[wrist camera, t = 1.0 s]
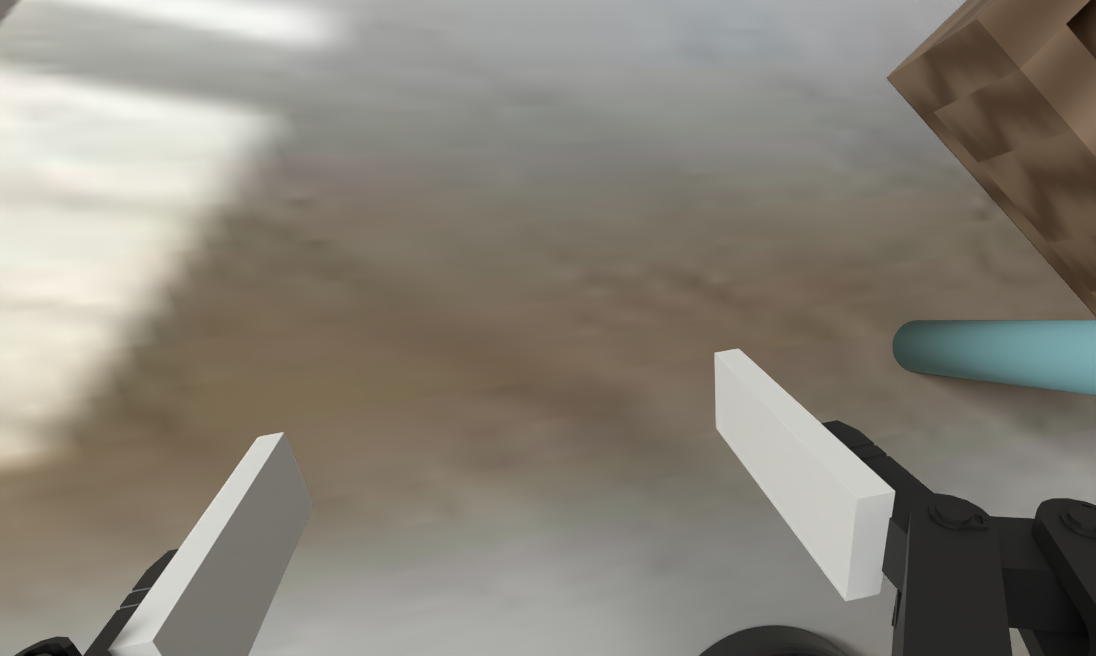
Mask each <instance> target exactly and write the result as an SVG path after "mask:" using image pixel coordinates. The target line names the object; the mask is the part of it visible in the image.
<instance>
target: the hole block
mask: <svg viewBox="0 0 1096 656" xmlns="http://www.w3.org/2000/svg"><path fill="white" fill-rule="evenodd" d="M887 79H888V80H889V81H890V82H891V83H892V84H893V86H894V87H895V88H896V89H897V90H898V91H899V92H900V94H901V95H902V96H903V97H904V98H905V99H906V100H907V101H908V103H909V104H910V105H911V106H912V107H913V108H914V109H915V111H916V112H917V113H918V114H919V115H920V116H921V117H922V119H923V120H924V121H925V122H926V123H927V124H928V125H929V127H930V128H931V129H932V130H933V131H934V132H935V133H936V135H937V136H938V137H939V138H940V139H941V140H942V141H943V143H944V144H945V145H946V146H947V147H948V148H949V149H950V150H951V152H952V153H953V154H954V155H955V156H956V157H957V158H958V160H959V161H960V162H961V163H962V164H963V165H964V166H965V168H966V169H967V170H968V171H969V172H970V173H971V174H972V176H973V177H974V178H975V179H976V180H977V181H978V182H979V184H980V185H981V186H982V187H983V188H984V189H985V190H986V191H987V193H988V194H989V195H990V196H991V197H992V198H993V199H994V201H995V202H996V203H997V204H998V205H999V206H1000V207H1001V209H1002V210H1003V211H1004V212H1005V213H1006V214H1007V215H1008V217H1009V218H1010V219H1011V220H1012V221H1013V222H1014V223H1015V225H1016V226H1017V227H1018V228H1019V229H1020V230H1021V231H1022V233H1023V234H1024V235H1025V236H1026V237H1027V238H1028V239H1029V240H1030V242H1031V243H1032V244H1033V245H1034V246H1035V247H1036V248H1037V250H1038V251H1039V252H1040V253H1041V254H1042V255H1043V256H1044V258H1045V259H1046V260H1047V261H1048V262H1049V263H1050V264H1051V266H1052V267H1053V268H1054V269H1055V270H1056V271H1057V272H1058V274H1059V275H1060V276H1061V277H1062V278H1063V279H1064V280H1065V282H1066V283H1067V284H1068V285H1069V286H1070V287H1071V288H1072V289H1073V291H1074V292H1075V293H1076V294H1077V295H1078V296H1079V297H1080V299H1081V300H1082V301H1083V302H1084V303H1085V304H1086V305H1087V307H1088V308H1089V309H1090V310H1091V311H1092V312H1093V313H1094V315H1095V316H1096V0H967V1H966V2H965V3H964V4H963V5H962V6H961V7H960V8H959V9H958V10H956V11H955V12H954V13H953V14H952V15H951V16H950V17H949V18H948V19H947V20H946V21H945V22H944V23H943V24H942V25H941V26H940V27H939V28H938V29H937V30H936V31H935V32H934V33H933V34H932V35H931V36H930V37H929V38H927V39H926V40H925V41H924V42H923V43H922V44H921V45H920V46H919V47H918V48H917V49H916V50H915V51H914V52H913V53H912V54H911V55H910V56H909V57H908V58H907V59H906V60H905V61H904V62H903V63H902V64H901V65H899V66H898V67H897V68H896V69H895V70H894V71H893V72H892V73H891V74H890V75H889V76H888V77H887Z"/></svg>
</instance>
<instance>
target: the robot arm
mask: <svg viewBox="0 0 1096 656" xmlns="http://www.w3.org/2000/svg"><path fill="white" fill-rule="evenodd" d="M715 397H716V428H717V430H718V431H719V432H720V434H721V435H722V436H723V438H724V439H725V440H726V442H727V443H728V444H729V446H730V447H731V448H732V450H733V451H734V452H735V454H736V455H737V457H738V458H739V459H740V461H741V462H742V463H743V465H744V466H745V467H746V469H747V470H748V471H749V473H750V474H751V475H752V477H753V478H754V479H755V481H756V482H757V483H758V485H759V486H760V487H761V489H762V490H763V491H764V493H765V494H766V495H767V497H768V498H769V499H770V501H771V502H772V503H773V505H774V506H775V507H776V509H777V510H778V511H779V513H780V514H781V515H782V517H783V518H784V519H785V521H786V522H787V524H788V525H789V526H790V528H791V529H792V530H793V532H794V533H795V534H796V536H797V537H798V538H799V540H800V541H801V542H802V544H803V545H804V546H805V548H806V549H807V550H808V552H809V553H810V554H811V556H812V557H813V558H814V560H815V561H816V562H817V564H818V565H819V566H820V568H821V569H822V570H823V572H824V573H825V574H826V576H827V577H828V578H829V580H830V581H831V582H832V584H833V585H834V587H835V588H836V589H837V591H838V592H839V593H840V595H841V596H842V597H843V599H844V600H845V601H850V600H855V599H860V598H864V597H869V596H874V595H879V594H880V592H881V586H882V579H883V573H884V574H885V575H886V576H887V578H888V579H889V580H890V581H891V582H892V583H893V584H894V586H895V587H896V588H897V595H896V601H895V607H894V613H893V619H892V626H894V630H893V643H892V656H1012V649H1011V641H1010V633H1009V628H1018V630H1019V632H1020V635H1021V637H1022V639H1023V641H1024V643H1025V645H1026V647H1027V649H1028V651H1029V654H1030V656H1096V505H1093V504H1091V503H1088V502H1084V501H1079V500H1073V499H1068V498H1057V499H1050V500H1047V501H1044V502H1042V503H1041V504H1040V506H1039V507H1038V509H1037V512H1036V516H1035V519H1031V518H1011V517H994V516H989V515H988V514H987V513H986V512H985V511H984V510H983V509H981V508H980V507H978V506H976V505H974V504H972V503H971V502H969V501H967V500H964V499H961V498H958V497H955V496H952V495H944V494H934V493H933V492H932V491H931V490H929V489H928V488H927V487H926V486H925V485H923V484H922V483H921V482H920V481H919V480H917V479H916V478H915V477H914V476H913V475H911V474H910V473H909V472H908V471H907V470H905V469H904V468H903V467H902V466H901V465H899V464H898V463H897V462H896V461H895V460H894V459H892V458H891V457H890V456H887V455H886V453H885V452H884V451H883V450H882V449H880V448H879V447H878V446H877V445H876V446H875V445H874V443H873V442H872V441H871V440H870V439H868V438H867V437H866V436H865V435H864V434H862V433H861V432H860V431H859V430H857V429H855V428H853V427H851V426H848V425H846V424H844V423H842V422H840V421H838V420H836V421H831V422H826V423H820V422H819V421H818V420H817V419H815V418H814V417H813V416H812V415H811V414H810V413H809V412H808V411H807V410H806V409H804V408H803V407H802V406H801V405H800V404H799V403H798V402H797V401H796V400H795V399H793V398H792V397H791V396H790V395H789V394H788V393H787V392H786V391H785V390H784V389H783V388H781V387H780V386H779V385H778V384H777V383H776V382H775V381H774V380H773V379H772V378H770V377H769V376H768V375H767V374H766V373H765V372H764V371H763V370H762V369H761V368H759V367H758V366H757V365H756V364H755V363H754V362H753V361H752V360H751V359H750V358H748V357H747V356H746V355H745V354H744V353H743V352H742V351H741V350H740V349H733V350H728V351H722V352H717V353H715ZM313 506H314V504H313V502H312V499H311V497H310V494H309V492H308V489H307V487H306V484H305V482H304V479H303V477H302V475H301V472H300V470H299V467H298V465H297V462H296V460H295V457H294V455H293V452H292V450H291V448H290V445H289V443H288V440H287V438H286V435H285V433H284V432H282V433H277V434H271V435H266V436H260V437H258V438H257V439H256V440H255V442H254V443H253V445H252V446H251V447H250V449H249V450H248V452H247V453H246V455H245V456H244V457H243V459H242V460H241V462H240V463H239V465H238V466H237V467H236V469H235V470H234V472H233V473H232V474H231V476H230V477H229V479H228V480H227V482H226V483H225V484H224V486H223V487H222V489H221V490H220V492H219V493H218V494H217V496H216V497H215V499H214V500H213V501H212V503H211V504H210V506H209V507H208V509H207V510H206V511H205V513H204V514H203V516H202V517H201V518H200V520H199V521H198V523H197V524H196V526H195V527H194V528H193V530H192V531H191V533H190V534H189V536H188V537H187V538H186V540H185V541H184V543H183V544H182V545H181V547H180V548H179V549H175V550H170V551H168V552H167V553H166V554H164V555H163V556H162V557H161V558H160V559H159V560H158V561H156V562H155V563H154V564H153V565H152V566H151V567H150V568H149V569H147V571H146V572H145V573H144V575H143V576H142V577H141V579H140V580H139V581H138V583H137V584H136V585H135V587H134V588H133V589H132V590H133V592H132V593H130V594H129V595H128V596H127V597H126V599H125V600H124V602H123V603H122V604H121V606H120V610H117V611H116V612H115V614H114V615H113V616H112V618H111V619H110V620H109V622H108V623H107V624H106V626H105V627H104V628H103V630H102V631H101V633H100V634H99V635H98V637H97V638H96V639H95V641H94V642H93V643H92V645H91V646H90V647H89V649H88V650H87V651H86V653H85V654H84V655H83V656H248V654H249V652H250V650H251V648H252V645H253V643H254V641H255V638H256V636H257V634H258V632H259V629H260V627H261V625H262V622H263V620H264V618H265V616H266V613H267V611H268V609H269V606H270V604H271V602H272V599H273V597H274V595H275V593H276V590H277V588H278V586H279V583H280V581H281V579H282V577H283V574H284V572H285V570H286V567H287V565H288V563H289V561H290V558H291V556H292V554H293V551H294V549H295V547H296V545H297V542H298V540H299V538H300V535H301V533H302V531H303V529H304V526H305V524H306V522H307V519H308V517H309V515H310V513H311V510H312V508H313ZM15 656H82V655H81V654H80V652H79V651H78V649H77V648H76V647H75V645H74V644H73V643H72V642H71V640H70V639H69V638H68V637H53V638H50V639H46V640H43V641H40V642H38V643H36V644H34V645H32V646H30V647H28V648H26V649H24V650H22V651H21V652H19V653H18V654H16V655H15ZM700 656H845V655H844V654H843V653H842V652H841V651H840V650H839V649H838V648H836V647H835V646H834V645H832V644H831V643H829V642H828V641H826V640H824V639H823V638H821V637H819V636H816V635H814V634H812V633H809V632H806V631H803V630H799V629H795V628H789V627H779V626H769V627H759V628H753V629H749V630H745V631H742V632H739V633H736V634H733V635H731V636H729V637H727V638H725V639H723V640H721V641H719V642H717V643H716V644H714V645H713V646H711V647H710V648H708V649H707V650H706V651H705V652H703V653H702V654H701V655H700Z"/></svg>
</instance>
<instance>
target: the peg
mask: <svg viewBox="0 0 1096 656" xmlns="http://www.w3.org/2000/svg"><path fill="white" fill-rule="evenodd" d="M893 353H894V356H895V359H896V360H897V362H898V363H899V364H900V365H901V366H902V367H903V368H904V369H906V370H908V371H911V372H918V373H925V374H933V375H941V376H949V377H956V378H964V379H972V380H980V381H987V382H995V383H1003V384H1011V385H1019V386H1026V387H1034V388H1042V389H1050V390H1057V391H1065V392H1073V393H1081V394H1089V395H1096V320H917V321H911V322H908V323H906V324H905V325H903V326H902V327H901V328H900V329H899V330H898V331H897V333H896V335H895V337H894V340H893Z"/></svg>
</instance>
